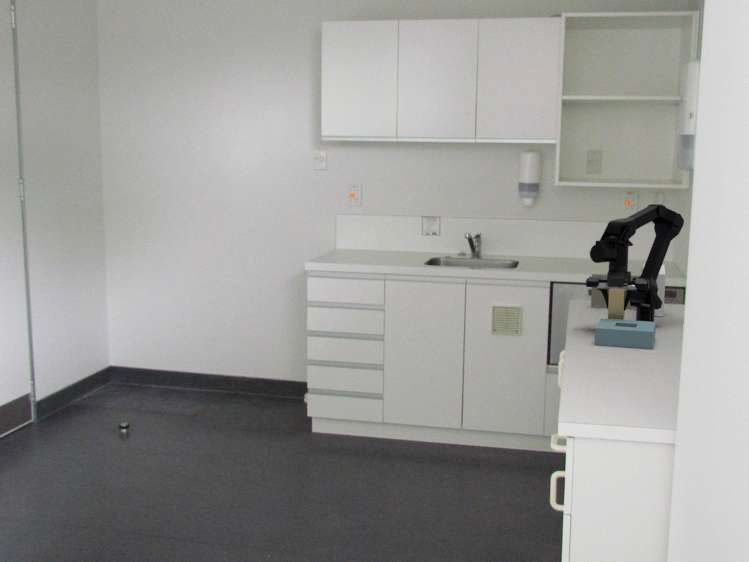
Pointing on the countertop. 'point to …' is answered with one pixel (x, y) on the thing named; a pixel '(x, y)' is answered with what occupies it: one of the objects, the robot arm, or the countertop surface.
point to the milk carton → (659, 288)
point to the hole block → (625, 333)
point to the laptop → (598, 297)
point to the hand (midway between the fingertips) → (616, 310)
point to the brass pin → (616, 304)
